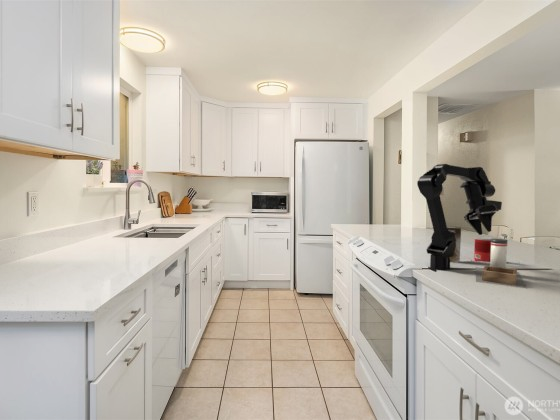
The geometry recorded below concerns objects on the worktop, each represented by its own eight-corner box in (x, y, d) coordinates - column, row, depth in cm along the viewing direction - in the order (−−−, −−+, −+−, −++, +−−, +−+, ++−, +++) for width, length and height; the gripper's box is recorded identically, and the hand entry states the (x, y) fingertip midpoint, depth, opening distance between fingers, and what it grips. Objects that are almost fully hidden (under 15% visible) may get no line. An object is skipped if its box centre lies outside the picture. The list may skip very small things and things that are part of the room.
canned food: (494, 264, 136) (495, 239, 135) (473, 262, 140) (474, 238, 140) (495, 261, 142) (496, 237, 141) (474, 259, 146) (475, 236, 146)
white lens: (497, 275, 115) (498, 240, 114) (486, 271, 120) (487, 238, 119) (509, 275, 115) (511, 240, 115) (498, 271, 120) (499, 238, 120)
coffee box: (436, 262, 140) (437, 227, 139) (437, 259, 145) (438, 225, 144) (459, 264, 135) (460, 228, 134) (460, 262, 140) (461, 226, 139)
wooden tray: (481, 280, 108) (482, 270, 108) (484, 274, 116) (485, 265, 115) (516, 285, 102) (516, 275, 102) (516, 279, 110) (517, 269, 110)
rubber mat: (527, 290, 99) (527, 288, 99) (475, 283, 107) (475, 281, 107) (518, 274, 120) (518, 272, 120) (475, 269, 127) (475, 267, 127)
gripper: (505, 187, 119) (518, 226, 116) (486, 198, 137) (497, 233, 133) (474, 192, 122) (485, 231, 118) (459, 203, 139) (469, 237, 136)
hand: (485, 233), depth 126 cm, fingers open, 9 cm apart
